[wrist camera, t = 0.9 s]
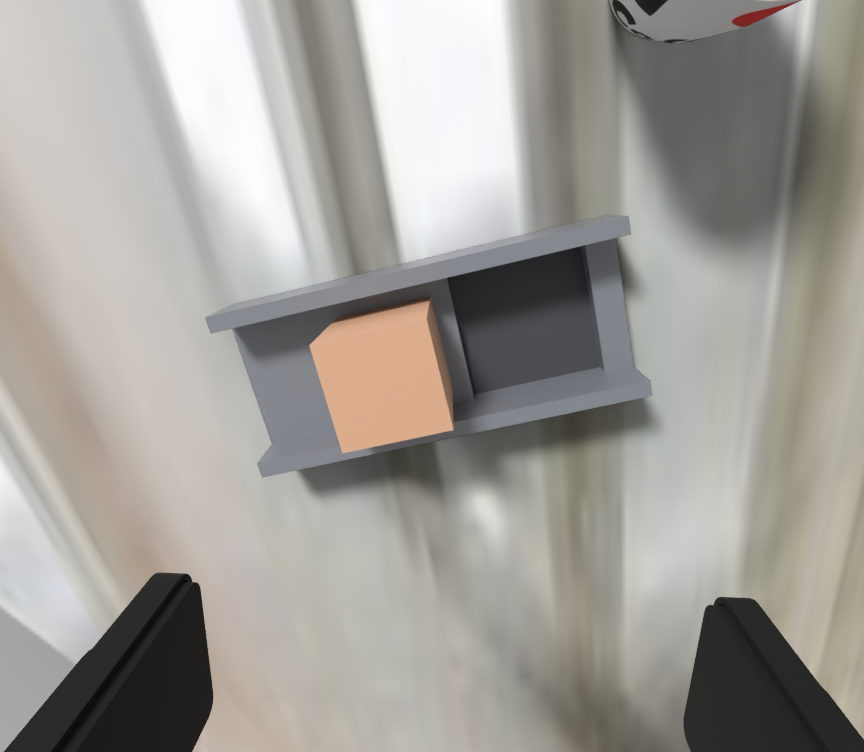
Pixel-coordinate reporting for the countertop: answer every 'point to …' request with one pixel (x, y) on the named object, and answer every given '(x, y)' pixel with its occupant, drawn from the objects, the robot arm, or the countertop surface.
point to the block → (385, 375)
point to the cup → (691, 17)
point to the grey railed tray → (457, 337)
